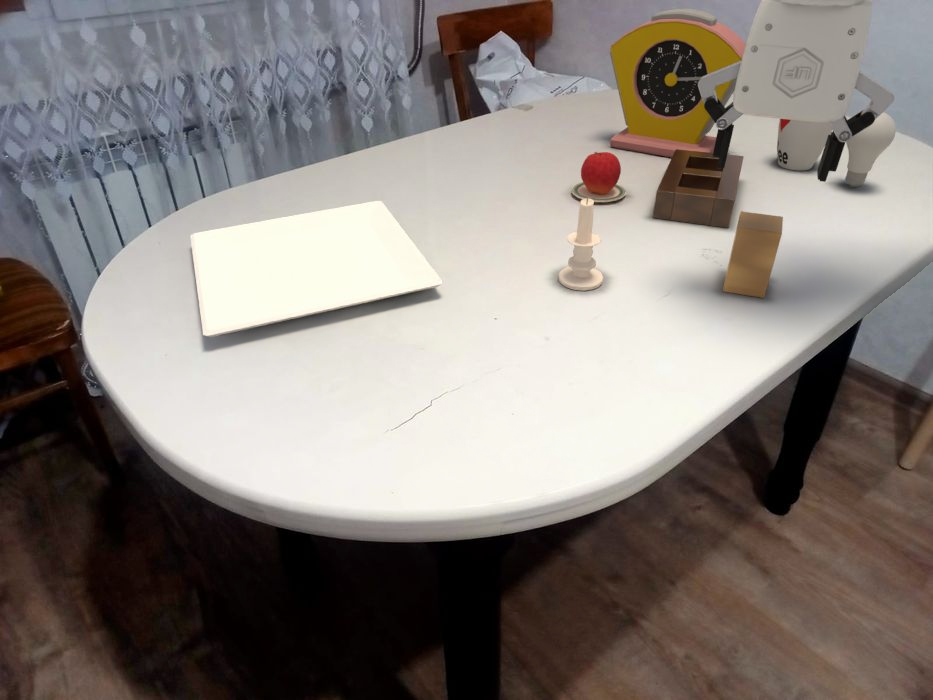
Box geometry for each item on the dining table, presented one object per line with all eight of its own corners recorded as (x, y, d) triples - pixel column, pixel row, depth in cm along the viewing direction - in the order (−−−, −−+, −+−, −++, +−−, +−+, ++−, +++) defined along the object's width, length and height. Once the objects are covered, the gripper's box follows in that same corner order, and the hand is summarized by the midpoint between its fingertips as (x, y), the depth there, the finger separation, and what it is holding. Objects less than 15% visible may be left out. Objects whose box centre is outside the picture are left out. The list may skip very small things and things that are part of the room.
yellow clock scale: (594, 145, 116) (606, 9, 104) (615, 130, 123) (629, 1, 110) (720, 167, 106) (750, 19, 94) (736, 150, 112) (766, 10, 100)
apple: (563, 199, 97) (566, 156, 93) (581, 180, 103) (585, 139, 99) (616, 208, 94) (621, 164, 90) (632, 189, 100) (637, 146, 96)
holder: (738, 181, 101) (743, 155, 99) (728, 228, 88) (734, 200, 86) (671, 173, 104) (675, 149, 102) (652, 217, 91) (656, 190, 89)
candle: (593, 294, 75) (602, 209, 69) (551, 284, 77) (556, 201, 71) (609, 274, 79) (618, 192, 73) (568, 265, 81) (574, 184, 75)
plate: (193, 246, 88) (189, 232, 86) (382, 212, 95) (380, 198, 94) (208, 351, 68) (202, 334, 67) (444, 297, 75) (444, 281, 74)
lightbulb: (855, 197, 95) (881, 120, 89) (821, 183, 100) (843, 109, 93) (885, 190, 97) (912, 113, 91) (850, 176, 102) (874, 103, 95)
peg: (765, 280, 77) (783, 216, 72) (764, 298, 73) (782, 232, 69) (726, 273, 78) (740, 210, 73) (722, 291, 75) (737, 227, 70)
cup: (770, 153, 111) (786, 92, 105) (823, 160, 108) (842, 96, 102) (765, 169, 105) (781, 105, 99) (821, 177, 102) (841, 110, 96)
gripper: (713, -17, 58) (678, 172, 68) (940, -9, 52) (866, 196, 62) (721, -27, 63) (688, 149, 73) (927, -20, 58) (861, 169, 68)
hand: (770, 170), depth 68 cm, fingers open, 9 cm apart
